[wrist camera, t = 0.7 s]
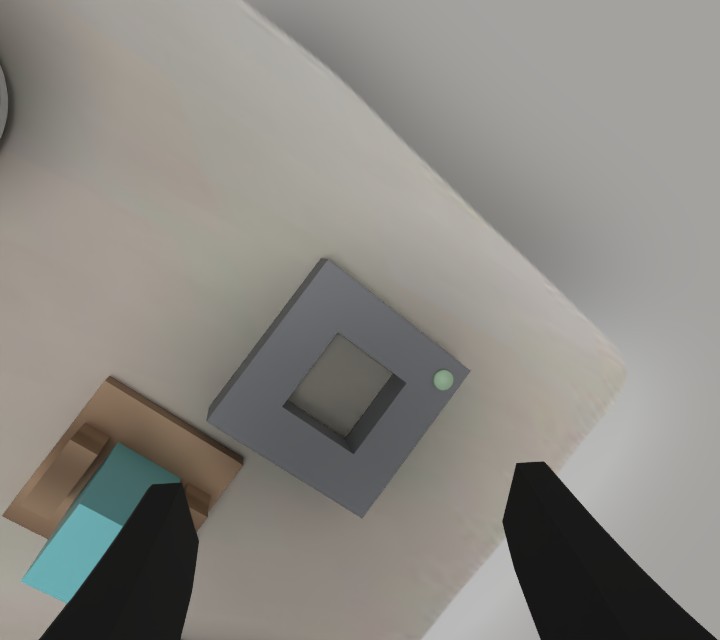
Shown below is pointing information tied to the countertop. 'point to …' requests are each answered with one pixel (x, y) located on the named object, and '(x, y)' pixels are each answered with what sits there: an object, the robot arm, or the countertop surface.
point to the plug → (93, 522)
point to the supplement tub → (3, 102)
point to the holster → (137, 432)
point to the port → (296, 357)
